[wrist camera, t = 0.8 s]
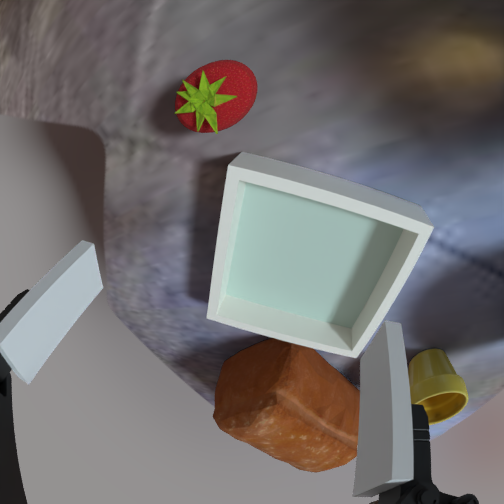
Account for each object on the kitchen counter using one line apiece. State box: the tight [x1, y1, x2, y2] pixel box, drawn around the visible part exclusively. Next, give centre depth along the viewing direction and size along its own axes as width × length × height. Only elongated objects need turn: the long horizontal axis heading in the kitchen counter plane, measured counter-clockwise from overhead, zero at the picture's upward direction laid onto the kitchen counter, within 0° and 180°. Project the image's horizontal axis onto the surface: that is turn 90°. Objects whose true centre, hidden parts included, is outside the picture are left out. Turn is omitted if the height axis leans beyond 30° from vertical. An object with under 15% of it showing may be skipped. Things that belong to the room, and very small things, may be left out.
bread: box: [213, 338, 360, 472], centre depth 44 cm, size 17×24×15 cm
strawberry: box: [174, 60, 257, 134], centre depth 23 cm, size 6×8×10 cm
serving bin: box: [207, 152, 434, 358], centre depth 33 cm, size 20×20×5 cm
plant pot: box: [408, 349, 468, 425], centre depth 37 cm, size 10×10×10 cm
